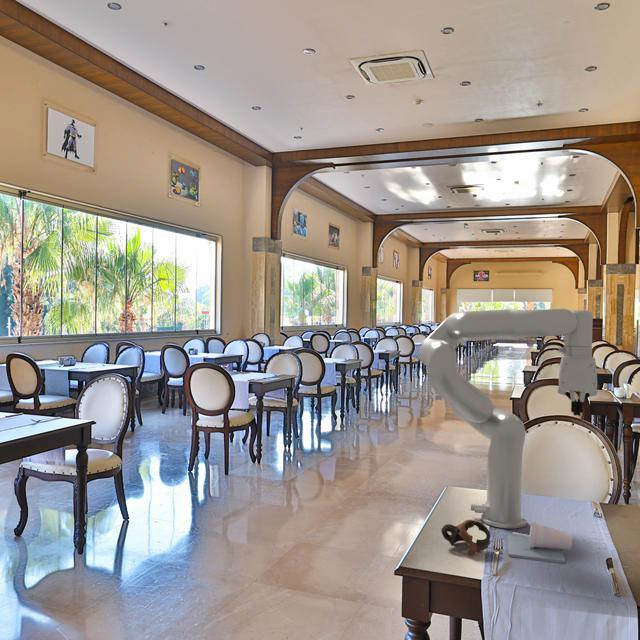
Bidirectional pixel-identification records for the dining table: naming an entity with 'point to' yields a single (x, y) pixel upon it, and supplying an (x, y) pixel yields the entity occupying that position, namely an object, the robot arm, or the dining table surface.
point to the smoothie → (547, 537)
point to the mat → (532, 550)
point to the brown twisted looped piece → (467, 535)
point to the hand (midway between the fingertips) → (576, 414)
